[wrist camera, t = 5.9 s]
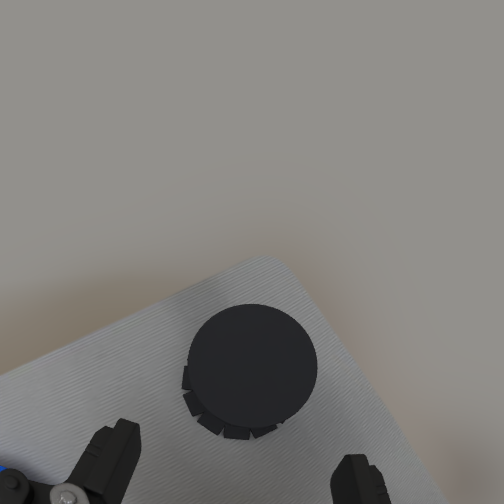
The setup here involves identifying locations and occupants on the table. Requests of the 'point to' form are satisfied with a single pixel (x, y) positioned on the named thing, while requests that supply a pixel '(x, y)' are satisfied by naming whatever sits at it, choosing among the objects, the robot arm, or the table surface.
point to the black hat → (249, 371)
